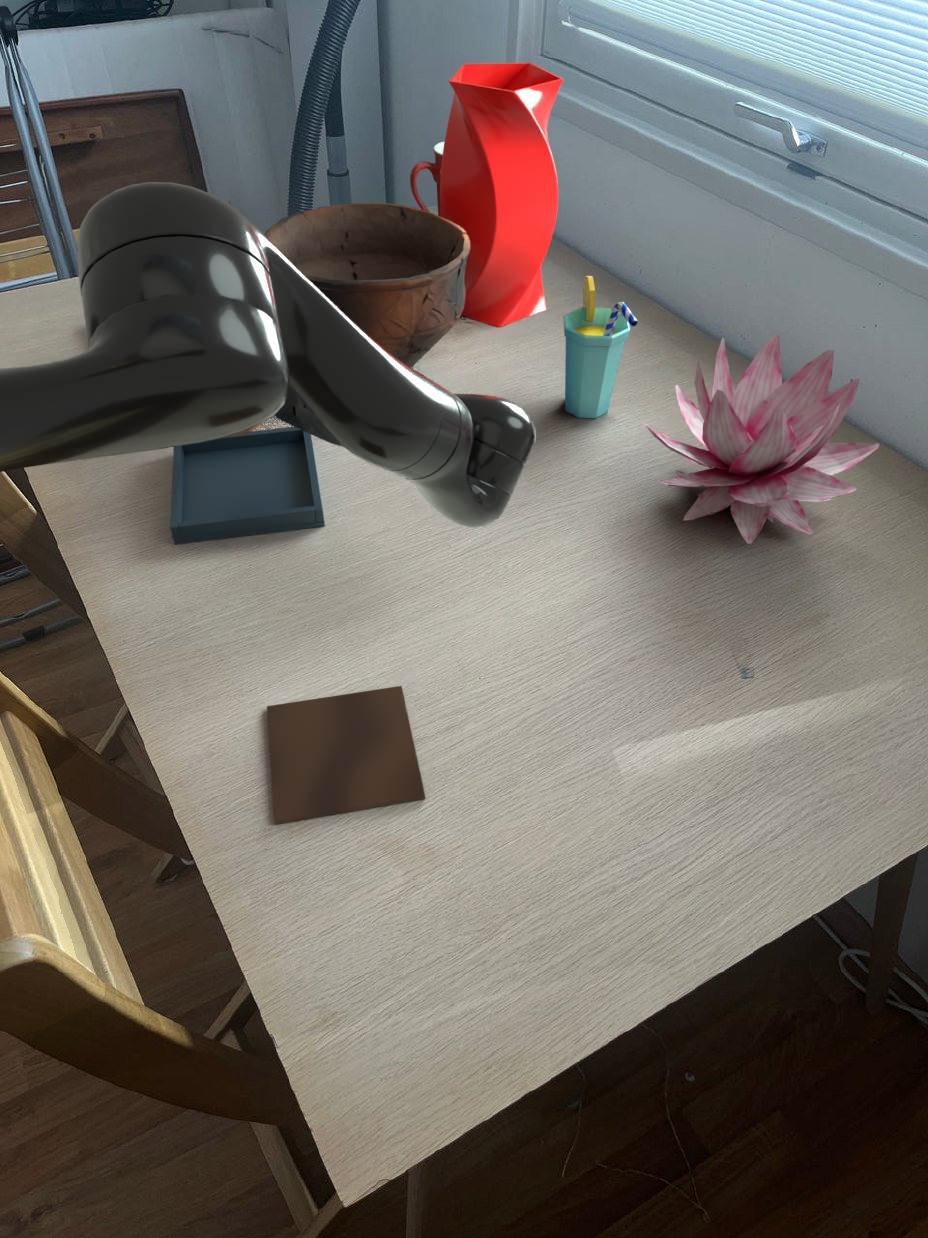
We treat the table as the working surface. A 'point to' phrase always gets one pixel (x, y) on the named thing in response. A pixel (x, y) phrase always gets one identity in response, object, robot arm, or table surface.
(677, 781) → the table surface
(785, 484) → the decorative flower
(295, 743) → the coaster
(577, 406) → the cup
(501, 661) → the table surface
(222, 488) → the tray
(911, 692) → the table surface
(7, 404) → the robot arm
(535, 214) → the vase
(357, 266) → the bowl
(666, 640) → the table surface
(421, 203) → the mug
